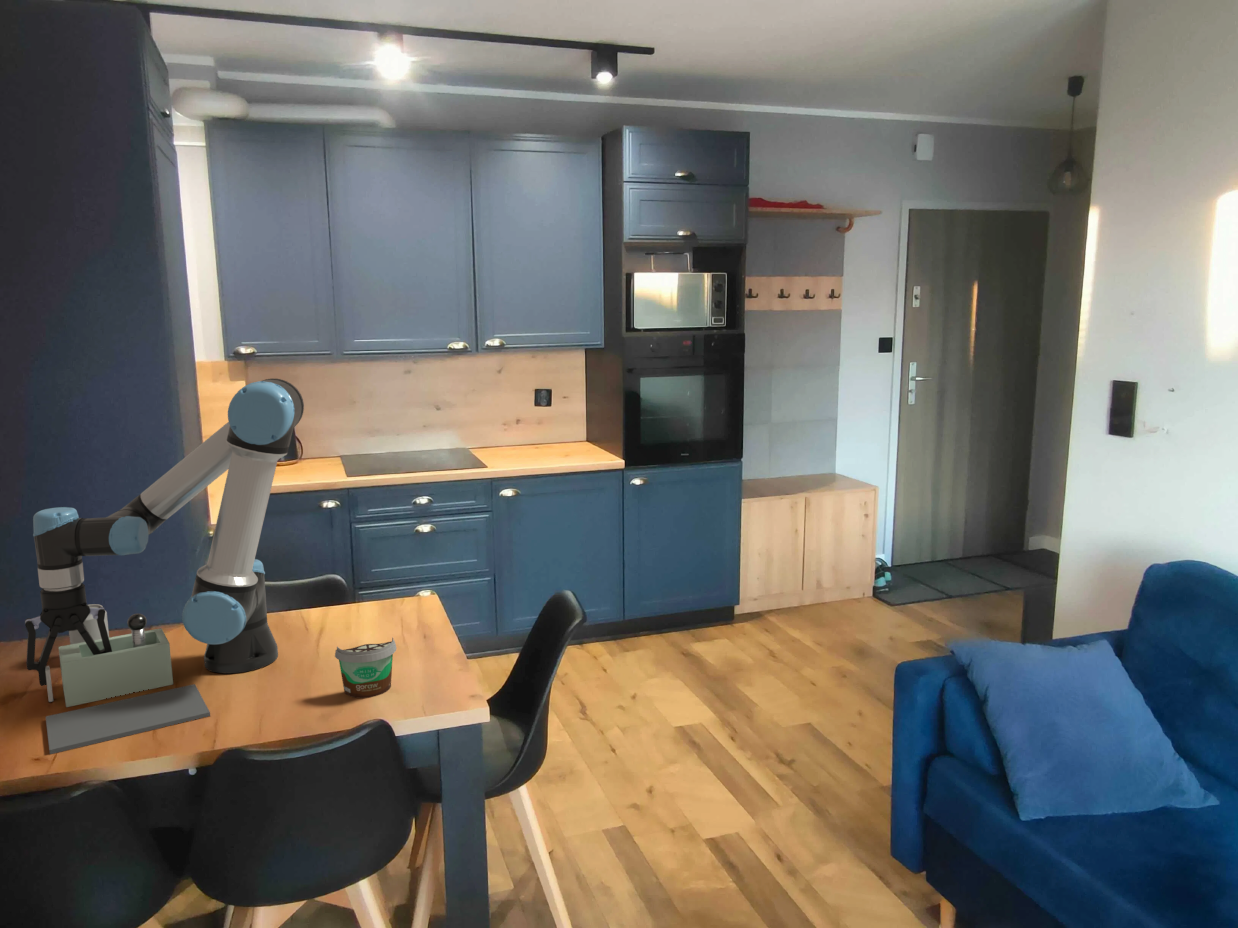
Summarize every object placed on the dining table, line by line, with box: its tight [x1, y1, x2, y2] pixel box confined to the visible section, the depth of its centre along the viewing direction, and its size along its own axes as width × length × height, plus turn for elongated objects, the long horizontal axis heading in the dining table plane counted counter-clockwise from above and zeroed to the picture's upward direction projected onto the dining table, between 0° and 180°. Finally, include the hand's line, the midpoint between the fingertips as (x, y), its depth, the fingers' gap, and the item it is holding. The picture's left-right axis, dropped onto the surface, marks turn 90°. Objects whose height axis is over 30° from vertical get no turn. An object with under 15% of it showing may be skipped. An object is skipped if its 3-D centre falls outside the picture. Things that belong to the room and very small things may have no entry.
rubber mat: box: [45, 683, 211, 755], centre depth 167 cm, size 26×16×1 cm, turn 125°
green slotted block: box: [57, 627, 174, 708], centre depth 181 cm, size 19×11×9 cm, turn 125°
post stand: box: [126, 613, 148, 648], centre depth 183 cm, size 5×5×15 cm
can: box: [68, 603, 110, 645], centre depth 195 cm, size 8×8×12 cm
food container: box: [334, 636, 397, 699], centre depth 178 cm, size 12×6×10 cm, turn 117°
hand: (74, 694), depth 177 cm, fingers open, 7 cm apart
